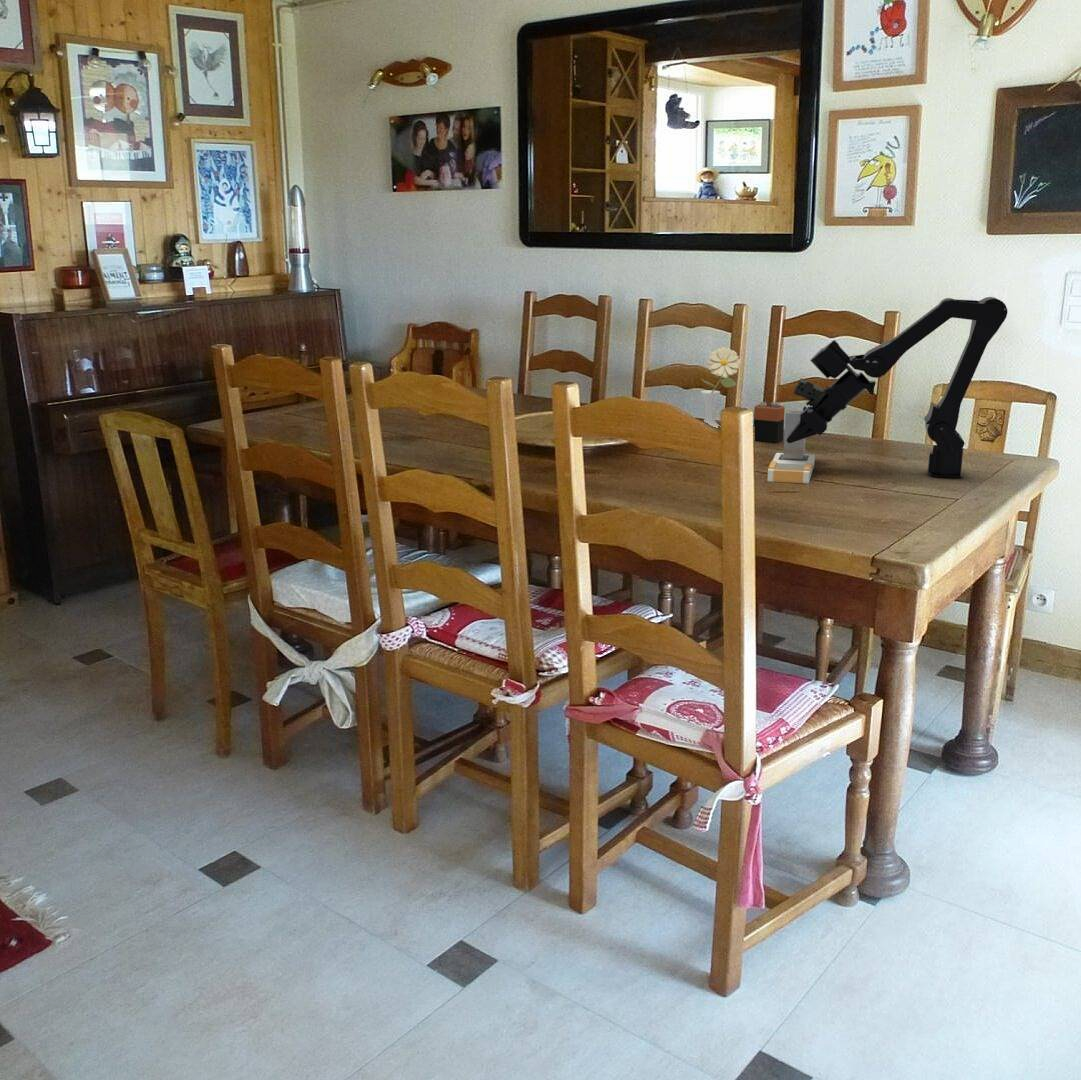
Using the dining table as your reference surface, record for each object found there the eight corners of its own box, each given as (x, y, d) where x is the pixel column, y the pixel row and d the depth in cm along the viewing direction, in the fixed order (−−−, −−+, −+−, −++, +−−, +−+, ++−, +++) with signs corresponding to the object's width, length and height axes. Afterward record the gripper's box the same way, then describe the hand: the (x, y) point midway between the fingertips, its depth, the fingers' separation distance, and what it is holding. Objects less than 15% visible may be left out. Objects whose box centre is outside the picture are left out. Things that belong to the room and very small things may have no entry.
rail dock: (814, 465, 250) (814, 452, 249) (808, 483, 233) (809, 470, 232) (775, 463, 252) (776, 451, 252) (767, 481, 235) (767, 468, 234)
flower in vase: (681, 448, 270) (683, 348, 263) (692, 440, 280) (694, 343, 273) (732, 452, 265) (736, 350, 258) (742, 443, 275) (745, 345, 268)
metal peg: (803, 466, 248) (806, 411, 245) (802, 470, 244) (805, 414, 241) (784, 465, 250) (787, 410, 246) (782, 469, 246) (785, 413, 242)
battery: (776, 443, 274) (778, 404, 272) (752, 440, 278) (753, 402, 275) (783, 440, 278) (785, 402, 275) (759, 437, 282) (761, 400, 279)
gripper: (819, 361, 248) (768, 407, 254) (813, 372, 231) (759, 421, 237) (852, 396, 248) (800, 441, 254) (849, 410, 231) (794, 458, 237)
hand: (788, 439), depth 246 cm, fingers closed on metal peg, 4 cm apart
